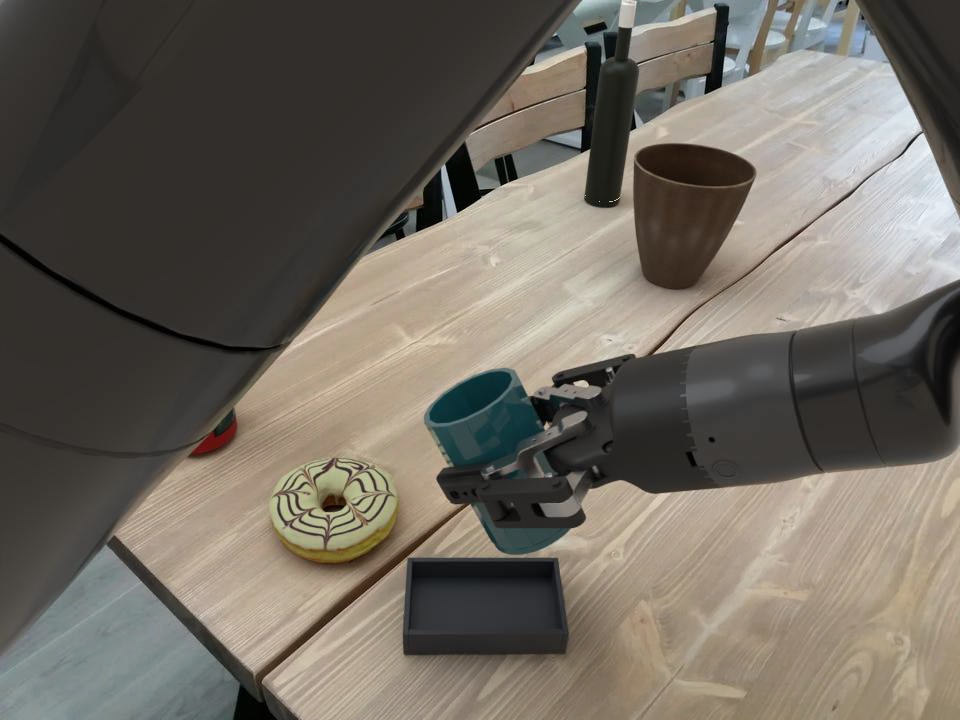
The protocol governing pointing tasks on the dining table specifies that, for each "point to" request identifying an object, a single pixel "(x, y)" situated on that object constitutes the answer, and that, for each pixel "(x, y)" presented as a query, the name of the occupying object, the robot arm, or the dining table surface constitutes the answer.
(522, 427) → the cup
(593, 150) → the wine bottle
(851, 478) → the dining table surface
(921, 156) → the dining table surface
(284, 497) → the decorated donut
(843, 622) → the dining table surface
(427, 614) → the tray
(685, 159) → the flower pot
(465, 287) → the dining table surface
